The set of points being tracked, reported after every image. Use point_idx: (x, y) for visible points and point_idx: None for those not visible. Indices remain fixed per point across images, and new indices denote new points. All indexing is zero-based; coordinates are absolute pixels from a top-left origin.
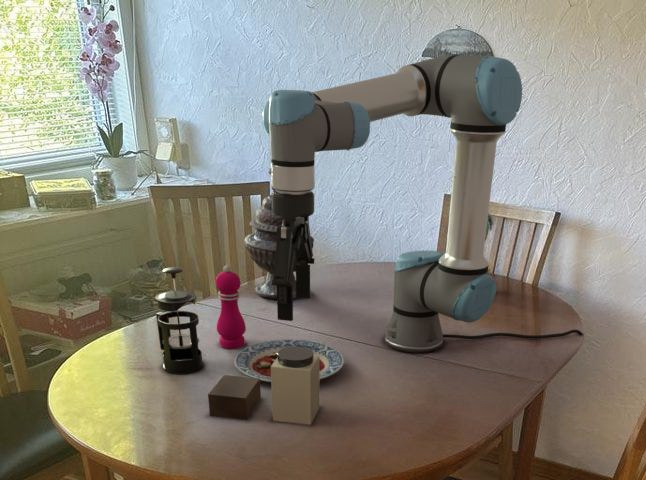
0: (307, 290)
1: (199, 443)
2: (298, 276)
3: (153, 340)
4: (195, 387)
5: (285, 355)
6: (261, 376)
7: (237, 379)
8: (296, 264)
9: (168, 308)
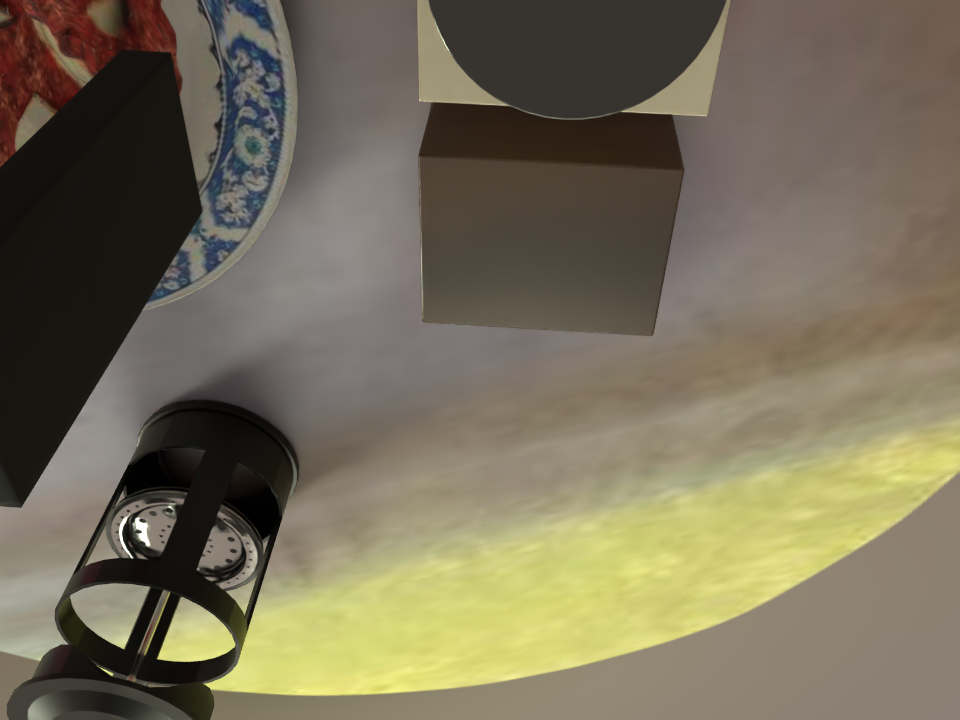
0: (135, 122)
1: (900, 247)
2: (92, 345)
3: (55, 582)
4: (388, 380)
5: (638, 47)
6: (255, 156)
7: (462, 256)
8: (4, 500)
9: (210, 711)
